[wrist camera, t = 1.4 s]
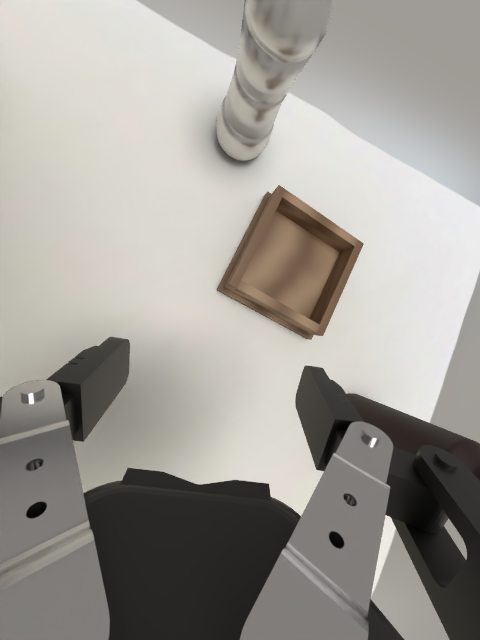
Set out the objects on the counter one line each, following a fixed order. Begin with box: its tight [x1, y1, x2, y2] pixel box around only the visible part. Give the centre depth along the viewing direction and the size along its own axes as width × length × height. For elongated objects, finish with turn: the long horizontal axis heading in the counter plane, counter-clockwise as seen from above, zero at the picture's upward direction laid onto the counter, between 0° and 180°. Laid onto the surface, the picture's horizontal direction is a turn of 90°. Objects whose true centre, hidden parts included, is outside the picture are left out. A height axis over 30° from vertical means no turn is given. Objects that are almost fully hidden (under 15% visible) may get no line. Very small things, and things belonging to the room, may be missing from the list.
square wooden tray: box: [217, 185, 363, 339], centre depth 32 cm, size 14×14×4 cm
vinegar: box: [347, 394, 480, 480], centre depth 27 cm, size 7×7×20 cm
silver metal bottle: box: [217, 0, 334, 161], centre depth 23 cm, size 6×7×20 cm
